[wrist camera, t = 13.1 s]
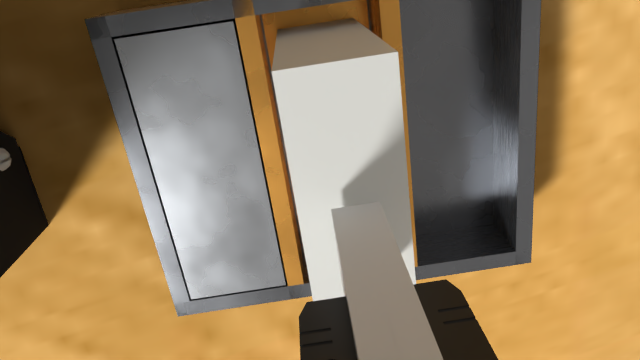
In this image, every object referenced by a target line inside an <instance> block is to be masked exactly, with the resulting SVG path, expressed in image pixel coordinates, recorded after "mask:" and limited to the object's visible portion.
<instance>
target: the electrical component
mask: <svg viewBox="0 0 640 360" xmlns="http://www.w3.org/2000/svg"><path fill="white" fill-rule="evenodd" d="M47 226H48V222H47V220H46V217H45V214H44V211H43V209H42V206H41V203H40V201H39V198H38V195H37V192H36V190H35V187H34V184H33V182H32V179H31V176H30V173H29V171H28V168H27V165H26V163H25V160H24V157H23V154H22V152H21V149H20V147H18V145H17V142H16V139H15V138H14V137H11V136H9V135H7V134H5V133H3V132H1V131H0V277H1V276H2V275H3V274H4V273H5V272H6V271H7V270H8V269H9V268H10V267H11V265H12V264H13V263H14V262H15V261H16V260H17V259H18V258H19V257H20V256H21V255H22V254H23V252H24V251H25V250H26V249H27V248H28V247H29V246H30V245H31V244H32V243H33V242H34V241H35V239H36V238H37V237H38V236H39V235H40V234H41V233H42V232H43V231H44V230H45V229H46V228H47Z"/></svg>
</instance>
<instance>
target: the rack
mask: <svg viewBox="0 0 640 360" xmlns="http://www.w3.org/2000/svg"><path fill="white" fill-rule="evenodd" d="M540 16H541V0H186V1H180V2H173V3H166V4H160V5H153V6H147V7H140V8H133V9H127V10H120V11H115V12H111V13H107V14H103V15H99V16H95V17H91V18H88V19H85V23H86V26H87V29H88V32H89V35H90V38H91V42H92V45H93V48H94V51H95V54H96V57H97V61H98V64H99V67H100V70H101V73H102V77H103V80H104V83H105V86H106V89H107V92H108V96H109V99H110V102H111V105H112V108H113V111H114V115H115V118H116V121H117V124H118V127H119V131H120V134H121V137H122V140H123V143H124V146H125V150H126V153H127V156H128V159H129V162H130V166H131V169H132V172H133V175H134V178H135V181H136V185H137V188H138V191H139V194H140V197H141V200H142V204H143V207H144V210H145V213H146V216H147V220H148V223H149V226H150V229H151V232H152V235H153V239H154V242H155V245H156V248H157V251H158V254H159V258H160V261H161V264H162V267H163V270H164V274H165V277H166V280H167V283H168V286H169V289H170V293H171V296H172V299H173V302H174V305H175V309H176V312H177V315H178V316H184V315H190V314H197V313H204V312H210V311H217V310H223V309H230V308H236V307H243V306H249V305H256V304H262V303H269V302H276V301H282V300H289V299H295V298H302V297H308V296H312V292H311V287H310V281H309V275H308V270H307V264H306V259H305V253H304V248H303V242H302V237H301V231H300V226H299V220H298V215H297V209H296V204H295V198H294V193H293V187H292V182H291V176H290V171H289V165H288V160H287V154H286V149H285V143H284V138H283V132H282V127H281V121H280V115H279V110H278V104H277V99H276V93H275V88H274V82H273V77H272V65H273V58H274V51H275V44H276V37H277V30H278V29H283V28H290V27H296V26H303V25H309V24H316V23H322V22H328V21H335V20H341V19H348V18H354V19H355V20H357V21H358V22H359V23H361V24H362V25H363V26H365V27H366V28H367V29H369V30H370V31H371V32H373V33H374V34H375V35H377V36H378V37H379V38H381V39H382V40H383V41H385V42H386V43H387V44H389V45H390V46H391V47H392V48H394V49H395V50H396V51H398V58H399V71H400V83H401V96H402V109H403V122H404V135H405V148H406V161H407V173H408V186H409V199H410V212H411V225H412V238H413V250H414V263H415V276H416V280H420V279H426V278H433V277H439V276H446V275H452V274H459V273H465V272H472V271H479V270H485V269H492V268H498V267H505V266H511V265H518V264H524V263H531V250H532V224H533V198H534V172H535V146H536V120H537V94H538V68H539V42H540Z"/></svg>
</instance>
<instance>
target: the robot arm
mask: <svg viewBox="0 0 640 360" xmlns="http://www.w3.org/2000/svg"><path fill="white" fill-rule="evenodd" d="M331 213H332V220H333V227H334V234H335V240H336V247H337V254H338V261H339V268H340V275H341V282H342V288H343V294H344V297H338V298H331V299H325V300H318V301H311V302H307V303H306V305H305V307H304V308H303V310H302V312H301V314H300V316H299V329H300V357H301V360H498V358H497V357H496V355H495V353H494V351H493V349H492V347H491V345H490V344H489V342H488V340H487V338H486V336H485V334H484V332H483V331H482V329H481V327H480V325H479V323H478V321H477V320H476V319H475V316H474V314H473V312H472V310H471V308H469V305H468V303H467V301H466V299H465V297H464V295H463V294H462V292H461V290H459V289H458V288H457V287H455V286H454V285H453V284H451V283H450V282H449V281H447V280H440V281H433V282H427V283H420V284H414V285H413V282H412V280H411V277H410V275H409V272H408V270H407V267H406V265H405V262H404V260H403V257H402V255H401V252H400V250H399V247H398V245H397V242H396V240H395V237H394V235H393V232H392V230H391V227H390V225H389V222H388V220H387V217H386V215H385V212H384V210H383V207H382V205H381V202H374V203H367V204H361V205H354V206H348V207H341V208H334V209H331Z"/></svg>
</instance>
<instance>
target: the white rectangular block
mask: <svg viewBox="0 0 640 360" xmlns="http://www.w3.org/2000/svg"><path fill="white" fill-rule="evenodd" d="M272 77H273V82H274V88H275V93H276V99H277V104H278V110H279V115H280V121H281V127H282V132H283V138H284V143H285V149H286V154H287V160H288V165H289V171H290V176H291V182H292V187H293V193H294V198H295V204H296V209H297V215H298V220H299V226H300V231H301V237H302V242H303V248H304V253H305V259H306V264H307V270H308V275H309V281H310V287H311V292H312V298H313V301H318V300H325V299H331V298H338V297H344V294H343V288H342V282H341V275H340V268H339V261H338V254H337V247H336V240H335V234H334V227H333V220H332V213H331V209H334V208H341V207H348V206H354V205H361V204H367V203H374V202H381V205H382V207H383V210H384V212H385V215H386V217H387V220H388V222H389V225H390V227H391V230H392V232H393V235H394V237H395V240H396V242H397V245H398V247H399V250H400V252H401V255H402V257H403V260H404V262H405V265H406V267H407V270H408V272H409V275H410V277H411V280H412V282H413V285H414V284H416V276H415V263H414V250H413V238H412V225H411V212H410V199H409V186H408V173H407V161H406V148H405V135H404V122H403V109H402V96H401V83H400V71H399V58H398V51H396V50H395V49H394V48H392V47H391V46H390V45H389V44H387V43H386V42H385V41H383V40H382V39H381V38H379V37H378V36H377V35H375V34H374V33H373V32H371V31H370V30H369V29H367V28H366V27H365V26H363V25H362V24H361V23H359V22H358V21H357V20H355V19H354V18H348V19H341V20H335V21H328V22H322V23H316V24H309V25H303V26H296V27H290V28H283V29H278V30H277V37H276V44H275V51H274V58H273V65H272Z"/></svg>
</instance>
